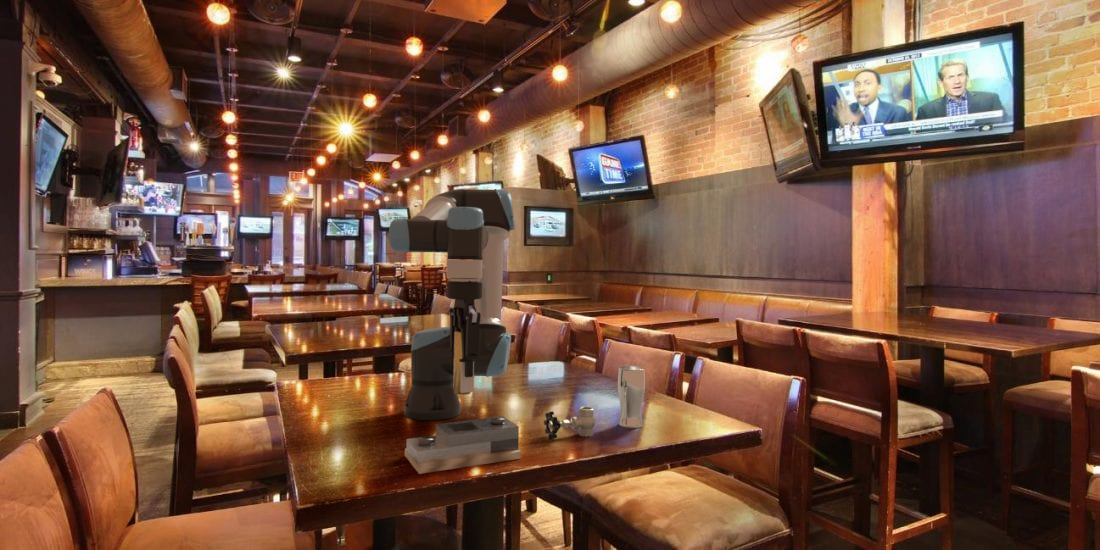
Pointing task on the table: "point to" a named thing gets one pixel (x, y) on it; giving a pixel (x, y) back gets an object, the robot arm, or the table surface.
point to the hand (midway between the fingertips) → (463, 389)
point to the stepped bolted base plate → (465, 440)
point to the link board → (463, 461)
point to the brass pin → (457, 362)
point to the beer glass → (631, 395)
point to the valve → (571, 423)
